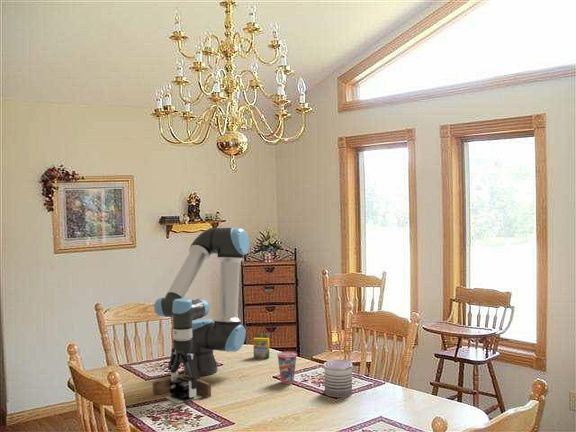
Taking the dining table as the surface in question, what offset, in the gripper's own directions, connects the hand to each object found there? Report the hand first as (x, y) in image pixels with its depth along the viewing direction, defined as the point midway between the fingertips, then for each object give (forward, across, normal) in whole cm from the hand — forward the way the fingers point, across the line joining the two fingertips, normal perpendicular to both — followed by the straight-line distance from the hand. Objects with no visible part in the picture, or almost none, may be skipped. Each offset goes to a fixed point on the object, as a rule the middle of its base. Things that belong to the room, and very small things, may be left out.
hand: (183, 392), depth 252 cm
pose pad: (+2, 0, 0) cm, 2 cm away
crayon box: (+2, -28, +60) cm, 66 cm away
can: (+2, +36, +50) cm, 61 cm away
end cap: (+2, 0, 0) cm, 2 cm away
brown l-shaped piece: (+2, -3, +1) cm, 4 cm away
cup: (+2, +12, +44) cm, 45 cm away
